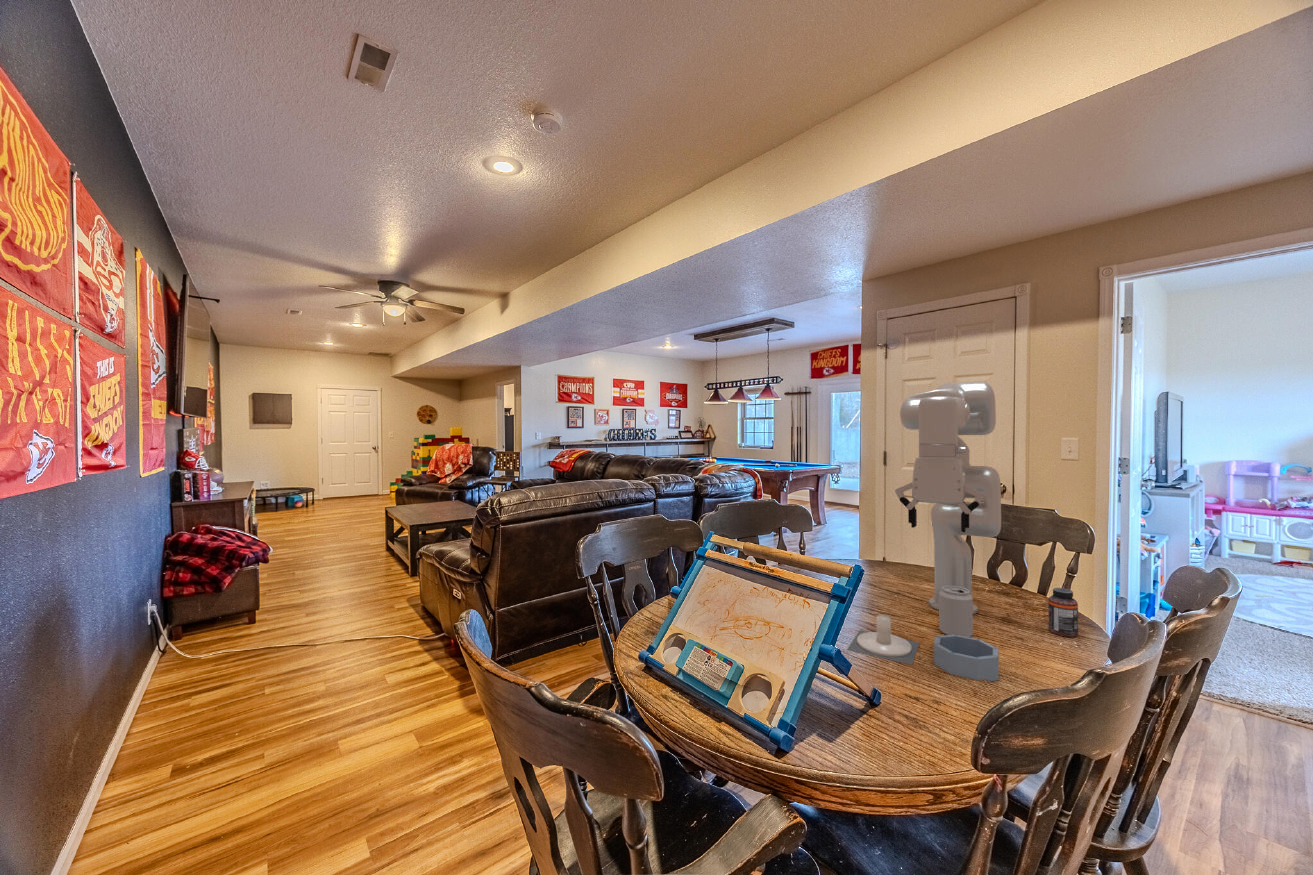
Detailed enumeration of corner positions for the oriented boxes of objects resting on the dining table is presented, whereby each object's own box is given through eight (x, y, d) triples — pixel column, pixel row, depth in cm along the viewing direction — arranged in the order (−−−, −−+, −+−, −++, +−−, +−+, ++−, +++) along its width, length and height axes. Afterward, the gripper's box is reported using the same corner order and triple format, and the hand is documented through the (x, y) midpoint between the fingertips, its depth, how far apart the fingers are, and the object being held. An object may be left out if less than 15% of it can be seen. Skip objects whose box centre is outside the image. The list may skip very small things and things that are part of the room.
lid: (863, 632, 129) (862, 605, 129) (914, 643, 122) (914, 614, 122) (852, 649, 119) (852, 620, 119) (907, 661, 112) (907, 631, 112)
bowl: (937, 651, 118) (937, 631, 118) (998, 664, 112) (998, 642, 112) (932, 672, 108) (932, 649, 108) (998, 687, 102) (998, 663, 102)
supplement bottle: (1048, 626, 133) (1048, 584, 132) (1077, 632, 129) (1077, 589, 129) (1048, 633, 128) (1048, 590, 128) (1078, 640, 124) (1078, 595, 124)
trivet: (859, 632, 130) (859, 630, 130) (919, 644, 122) (919, 642, 122) (846, 652, 119) (846, 649, 119) (911, 667, 111) (911, 664, 111)
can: (978, 641, 124) (978, 594, 124) (945, 639, 125) (945, 592, 125) (965, 629, 131) (965, 584, 131) (934, 627, 133) (934, 583, 132)
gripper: (984, 452, 108) (985, 530, 108) (897, 451, 118) (898, 522, 118) (984, 453, 102) (984, 536, 102) (892, 452, 112) (892, 527, 112)
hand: (938, 528), depth 110 cm, fingers open, 9 cm apart
